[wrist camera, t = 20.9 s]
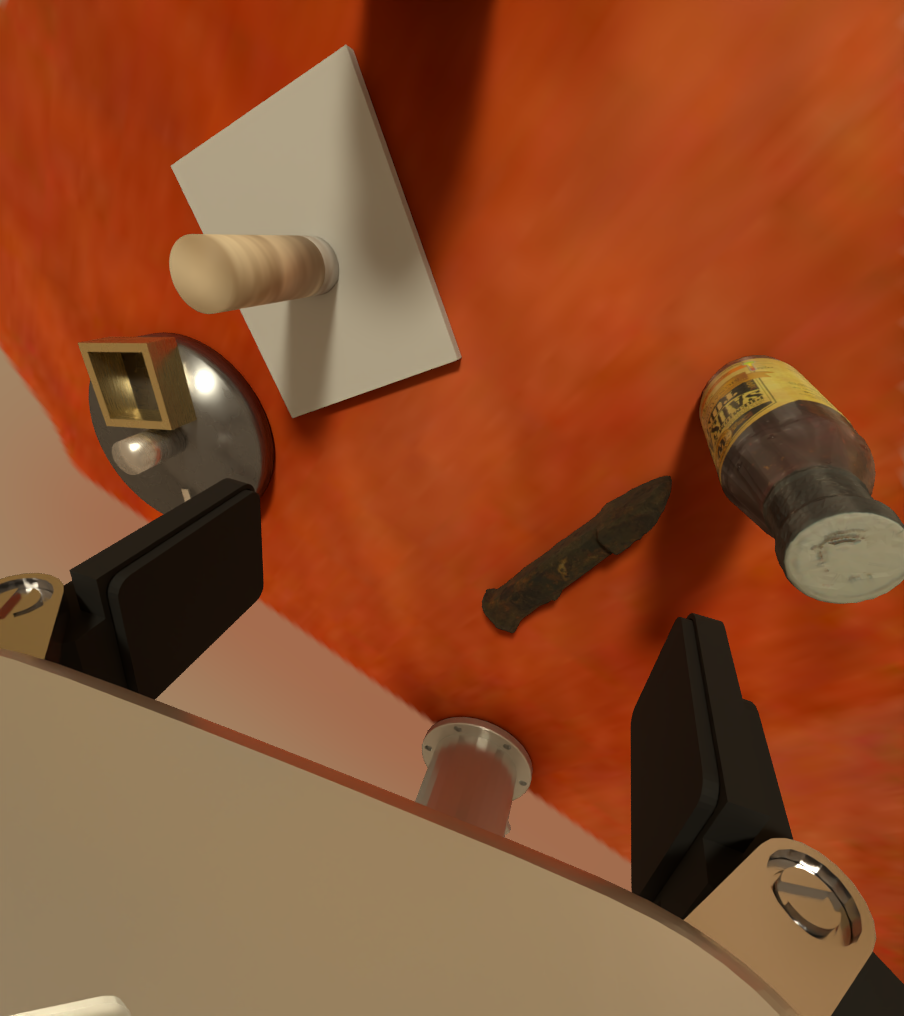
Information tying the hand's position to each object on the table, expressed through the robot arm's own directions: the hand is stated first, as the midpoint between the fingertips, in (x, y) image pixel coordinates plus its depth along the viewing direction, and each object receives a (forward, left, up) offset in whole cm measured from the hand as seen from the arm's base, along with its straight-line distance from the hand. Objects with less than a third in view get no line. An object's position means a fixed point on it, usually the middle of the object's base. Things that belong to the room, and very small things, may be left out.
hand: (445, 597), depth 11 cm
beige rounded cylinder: (+12, +16, -29) cm, 35 cm away
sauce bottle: (-7, -10, -31) cm, 33 cm away
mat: (+12, +16, -30) cm, 36 cm away
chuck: (+4, +36, -30) cm, 47 cm away
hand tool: (-15, +4, -31) cm, 35 cm away
